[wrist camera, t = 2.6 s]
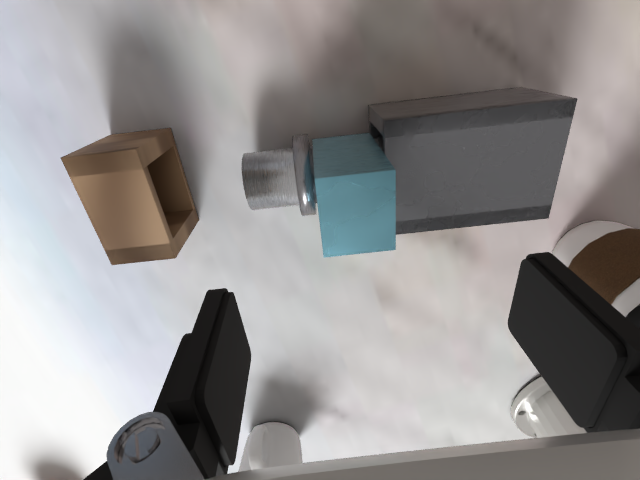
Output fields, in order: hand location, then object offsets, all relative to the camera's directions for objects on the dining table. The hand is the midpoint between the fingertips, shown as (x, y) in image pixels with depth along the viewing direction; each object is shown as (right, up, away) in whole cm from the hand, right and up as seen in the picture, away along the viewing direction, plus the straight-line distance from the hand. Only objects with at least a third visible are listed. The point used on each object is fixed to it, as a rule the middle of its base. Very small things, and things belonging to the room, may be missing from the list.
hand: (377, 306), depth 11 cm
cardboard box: (-15, +7, +16) cm, 23 cm away
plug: (+3, +9, +16) cm, 18 cm away
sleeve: (+7, +9, +16) cm, 20 cm away
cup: (-8, -21, +32) cm, 40 cm away
